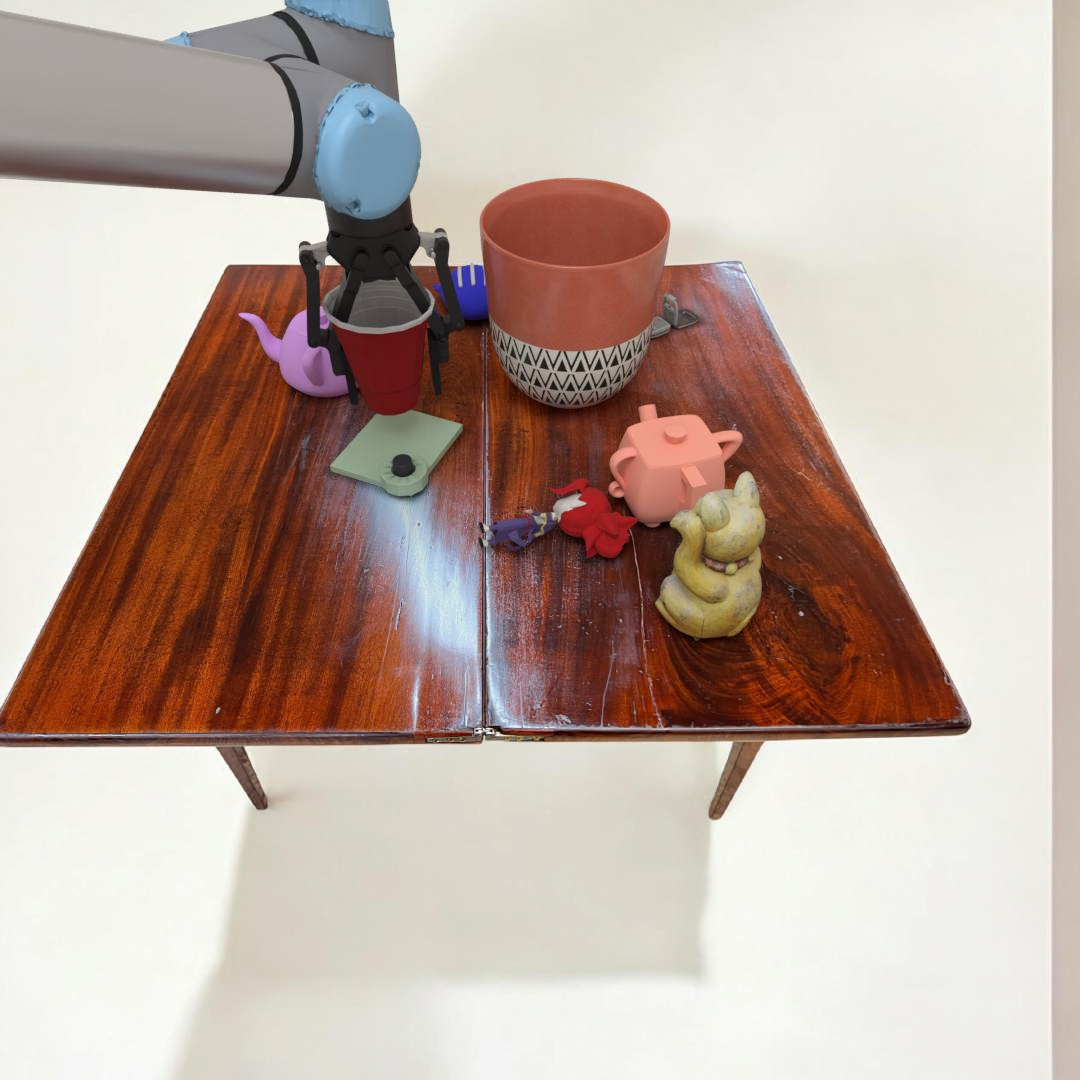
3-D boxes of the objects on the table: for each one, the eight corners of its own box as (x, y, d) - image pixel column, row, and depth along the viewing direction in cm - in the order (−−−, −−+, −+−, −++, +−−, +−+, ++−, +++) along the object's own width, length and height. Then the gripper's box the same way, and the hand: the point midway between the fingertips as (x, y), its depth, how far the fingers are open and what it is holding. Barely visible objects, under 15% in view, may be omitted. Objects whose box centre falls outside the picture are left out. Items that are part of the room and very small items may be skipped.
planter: (526, 460, 94) (525, 284, 78) (463, 365, 106) (452, 196, 90) (680, 416, 99) (707, 243, 84) (603, 330, 111) (615, 165, 96)
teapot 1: (403, 376, 104) (394, 312, 98) (301, 421, 98) (285, 356, 92) (353, 333, 111) (341, 271, 104) (254, 373, 105) (236, 309, 98)
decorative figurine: (708, 563, 83) (734, 446, 73) (777, 612, 79) (815, 495, 68) (641, 616, 79) (658, 499, 68) (710, 671, 75) (740, 555, 64)
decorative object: (438, 242, 114) (512, 255, 114) (436, 280, 118) (508, 293, 118) (424, 286, 107) (504, 300, 107) (423, 325, 111) (499, 338, 112)
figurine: (471, 526, 86) (610, 496, 89) (493, 598, 82) (638, 564, 85) (472, 489, 80) (620, 459, 84) (496, 565, 76) (651, 530, 80)
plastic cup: (465, 391, 92) (457, 291, 83) (398, 444, 86) (381, 342, 77) (390, 357, 96) (375, 258, 87) (321, 406, 90) (297, 305, 81)
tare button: (407, 479, 88) (405, 468, 87) (390, 474, 89) (388, 463, 88) (416, 467, 90) (415, 456, 89) (400, 462, 90) (398, 451, 89)
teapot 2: (638, 449, 95) (645, 377, 88) (737, 488, 91) (753, 416, 84) (585, 510, 88) (589, 438, 81) (690, 556, 84) (704, 483, 77)
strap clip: (648, 341, 110) (651, 312, 107) (634, 329, 112) (637, 300, 109) (700, 322, 113) (705, 293, 110) (686, 311, 115) (690, 282, 112)
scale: (414, 507, 89) (412, 489, 87) (324, 478, 92) (320, 461, 90) (471, 432, 97) (470, 415, 95) (386, 408, 100) (384, 391, 98)
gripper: (238, 209, 70) (295, 426, 86) (491, 186, 73) (499, 401, 89) (241, 170, 75) (294, 383, 91) (477, 150, 78) (487, 360, 94)
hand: (395, 391), depth 90 cm, fingers closed on plastic cup, 8 cm apart
